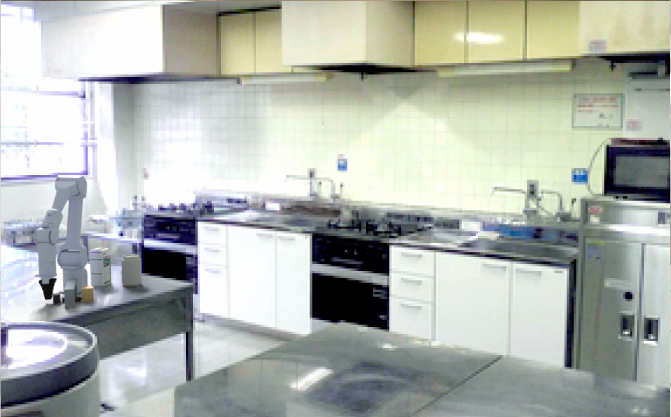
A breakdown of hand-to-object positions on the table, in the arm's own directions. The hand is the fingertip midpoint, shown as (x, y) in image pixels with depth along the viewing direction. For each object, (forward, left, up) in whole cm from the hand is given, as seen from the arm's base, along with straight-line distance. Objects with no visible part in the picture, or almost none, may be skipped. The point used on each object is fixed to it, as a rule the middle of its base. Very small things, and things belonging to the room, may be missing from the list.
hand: (48, 299), depth 235 cm
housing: (-3, +7, -1) cm, 8 cm away
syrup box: (-30, +4, -2) cm, 31 cm away
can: (-32, +16, -2) cm, 36 cm away
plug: (-4, +7, -1) cm, 8 cm away
